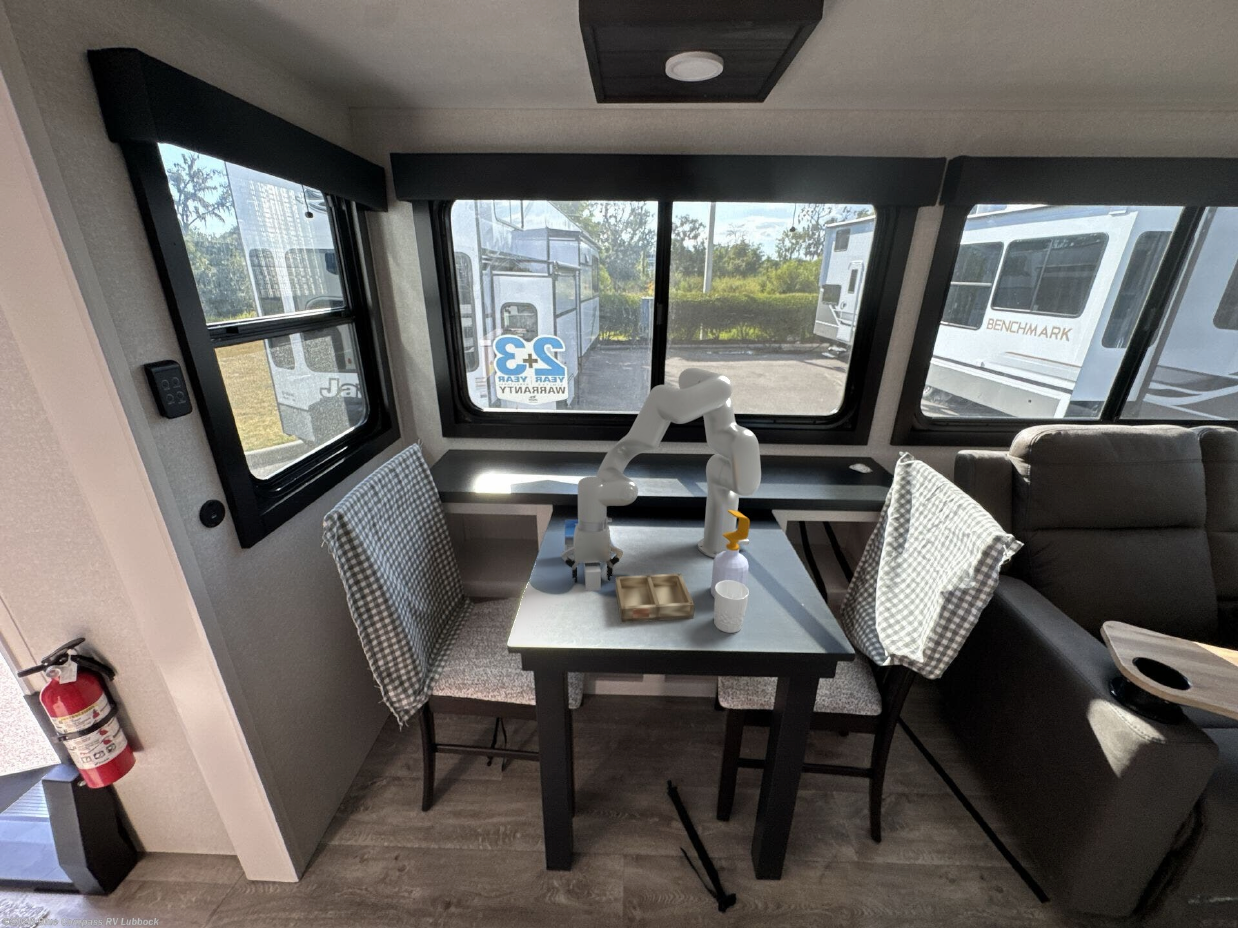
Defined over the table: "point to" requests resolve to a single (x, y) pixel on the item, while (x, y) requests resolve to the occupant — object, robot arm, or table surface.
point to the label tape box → (569, 535)
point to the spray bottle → (732, 556)
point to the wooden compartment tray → (653, 598)
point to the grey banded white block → (592, 576)
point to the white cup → (730, 605)
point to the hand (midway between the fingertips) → (592, 578)
